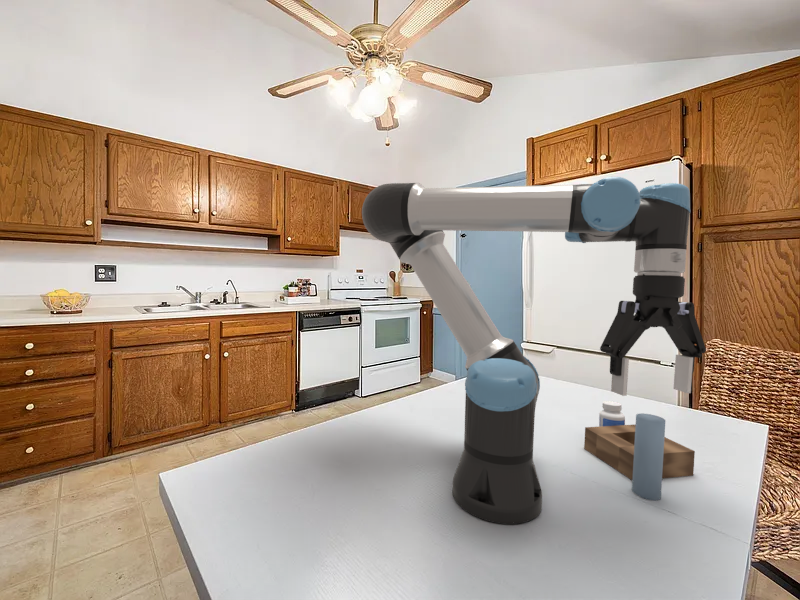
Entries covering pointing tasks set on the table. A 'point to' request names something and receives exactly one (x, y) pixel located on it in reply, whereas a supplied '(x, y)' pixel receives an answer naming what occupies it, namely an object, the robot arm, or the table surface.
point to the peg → (648, 456)
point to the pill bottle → (611, 414)
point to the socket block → (619, 451)
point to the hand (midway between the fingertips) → (650, 392)
